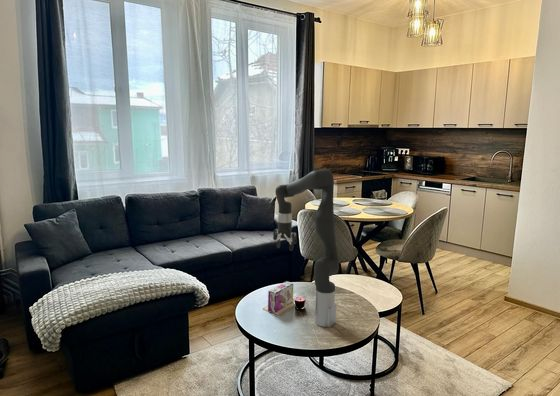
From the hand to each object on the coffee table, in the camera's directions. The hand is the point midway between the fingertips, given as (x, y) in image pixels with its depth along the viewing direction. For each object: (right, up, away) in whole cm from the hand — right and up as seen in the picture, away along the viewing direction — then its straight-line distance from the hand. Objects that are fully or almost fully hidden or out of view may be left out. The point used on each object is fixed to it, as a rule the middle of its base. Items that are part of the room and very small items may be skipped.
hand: (284, 249), depth 211 cm
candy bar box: (-7, -25, -16) cm, 31 cm away
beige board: (-1, -30, -6) cm, 30 cm away
